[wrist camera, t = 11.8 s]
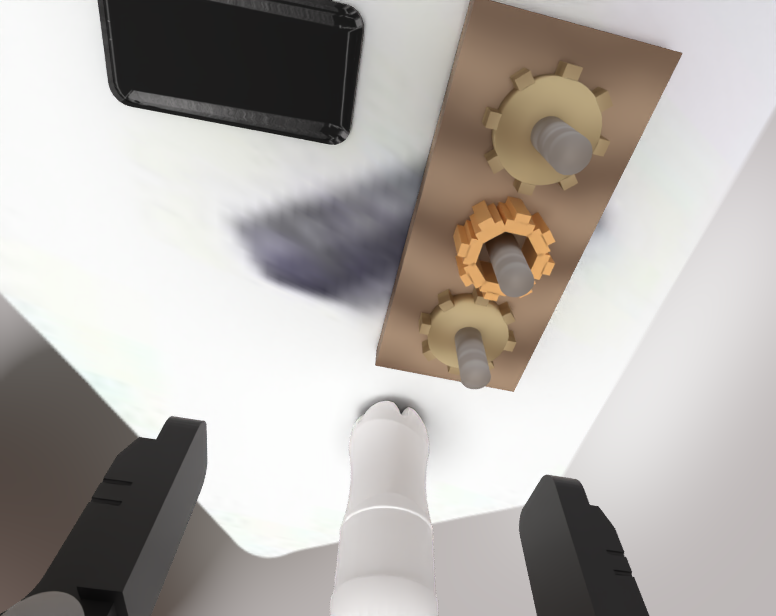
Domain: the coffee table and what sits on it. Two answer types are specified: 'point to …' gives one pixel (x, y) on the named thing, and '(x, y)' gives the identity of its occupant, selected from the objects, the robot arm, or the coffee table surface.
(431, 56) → the coffee table surface
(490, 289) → the gear
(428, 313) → the gear board
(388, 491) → the water bottle
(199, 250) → the coffee table surface
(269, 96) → the phone
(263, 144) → the coffee table surface
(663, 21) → the coffee table surface
